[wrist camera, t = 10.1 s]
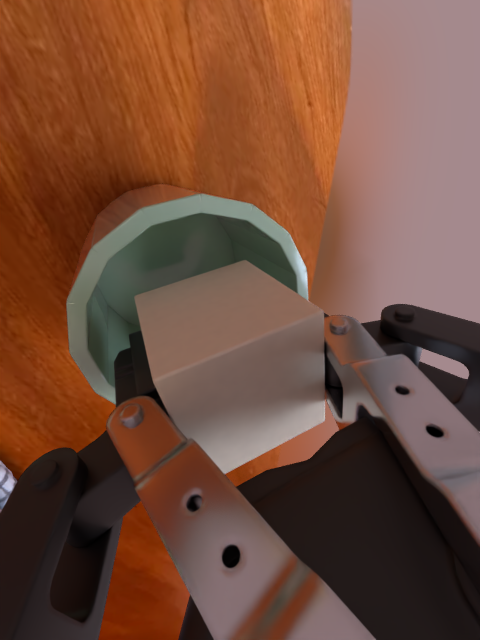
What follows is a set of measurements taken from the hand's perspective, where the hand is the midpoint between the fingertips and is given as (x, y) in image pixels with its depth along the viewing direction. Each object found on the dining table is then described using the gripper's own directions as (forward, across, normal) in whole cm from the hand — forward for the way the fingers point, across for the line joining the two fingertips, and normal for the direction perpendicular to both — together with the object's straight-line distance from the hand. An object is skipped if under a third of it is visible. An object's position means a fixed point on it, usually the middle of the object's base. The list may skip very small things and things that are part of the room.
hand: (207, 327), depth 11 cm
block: (0, 0, 0) cm, 0 cm away
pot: (+9, 0, 0) cm, 9 cm away
